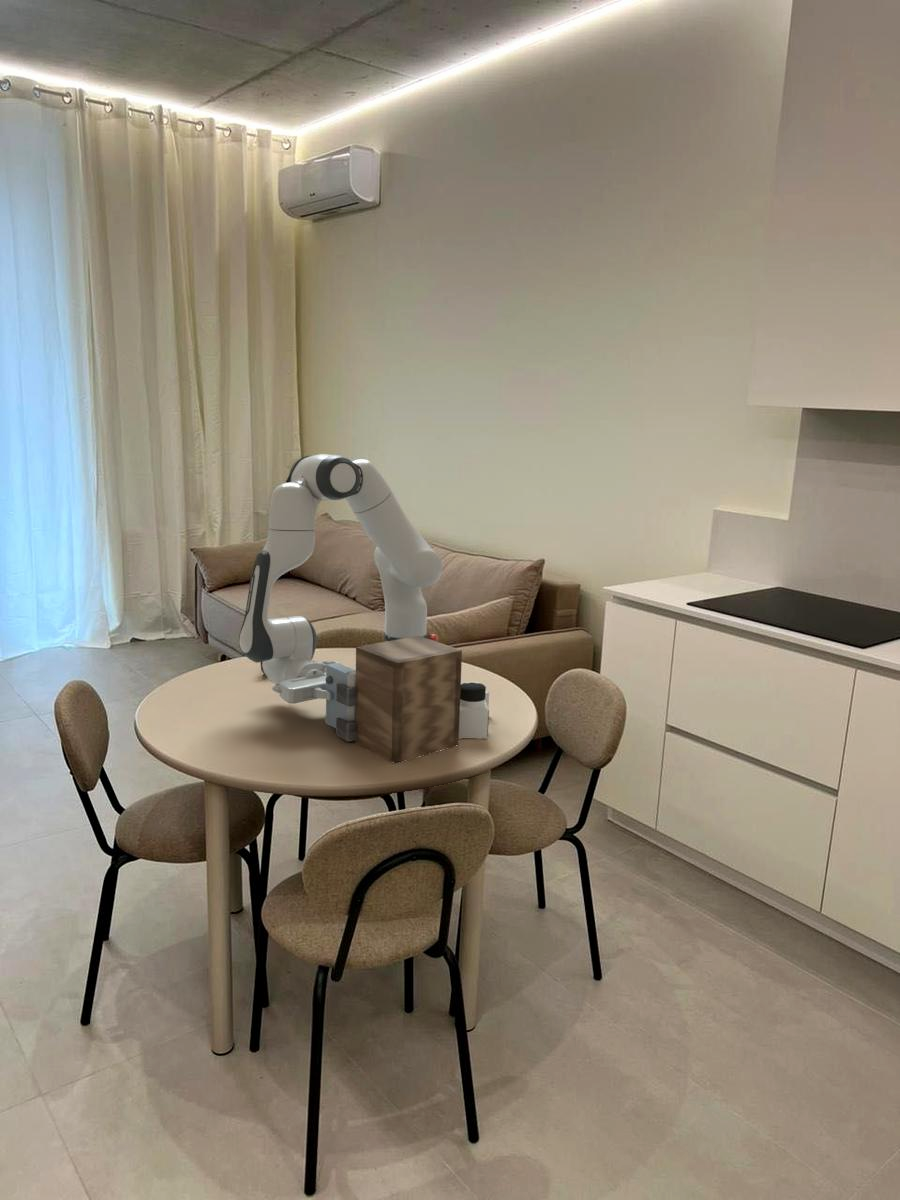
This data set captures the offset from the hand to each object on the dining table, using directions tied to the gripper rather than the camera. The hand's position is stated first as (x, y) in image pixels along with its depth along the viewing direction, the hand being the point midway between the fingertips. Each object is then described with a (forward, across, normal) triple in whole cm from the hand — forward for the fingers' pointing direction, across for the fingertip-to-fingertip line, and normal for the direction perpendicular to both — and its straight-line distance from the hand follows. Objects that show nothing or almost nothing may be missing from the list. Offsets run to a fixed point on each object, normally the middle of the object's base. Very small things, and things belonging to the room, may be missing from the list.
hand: (340, 694), depth 203 cm
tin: (-52, +12, +9) cm, 54 cm away
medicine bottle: (+18, +24, +9) cm, 32 cm away
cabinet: (+13, +7, +9) cm, 17 cm away
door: (+2, 0, +8) cm, 8 cm away
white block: (+8, +33, +9) cm, 35 cm away
